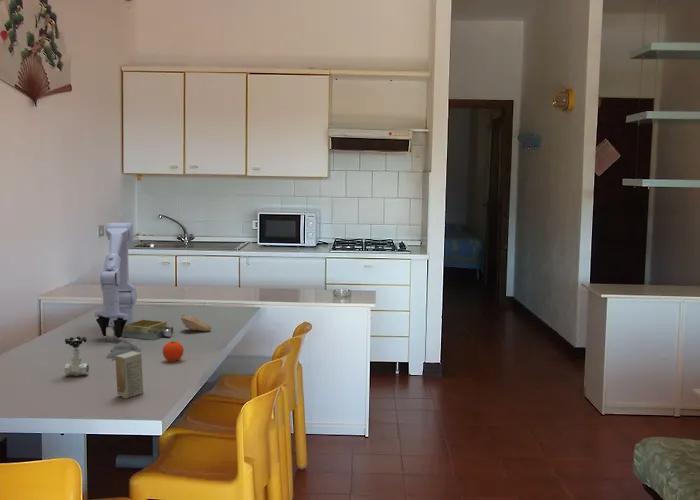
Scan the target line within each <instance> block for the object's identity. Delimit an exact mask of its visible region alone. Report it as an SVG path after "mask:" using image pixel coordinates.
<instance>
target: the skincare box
mask: <svg viewBox="0 0 700 500" xmlns="http://www.w3.org/2000/svg"><path fill="white" fill-rule="evenodd" d="M115 358H116V360H115V371H116V375H115V377H116V391H117V394H116V395H117V396H118V395H119V396H122V397H124V398H123V399H126V398H127V399H130V398H132V396H133V397H135V396H139V395H141V394H144V379H143V378H144V377H143V360H142V352H134V351H131V352H128V353H124V354H121V355H117V356H115ZM119 396H118V397H119ZM122 397H121V398H122ZM129 397H130V398H129Z"/></svg>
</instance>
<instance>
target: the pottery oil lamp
mask: <svg viewBox="0 0 700 500" xmlns="http://www.w3.org/2000/svg"><path fill="white" fill-rule="evenodd" d="M180 320H181V322H182V324H183V325H184V327H185V328H187V329H190V330H192V331H200V332H205V333H206V331H207V332H210V331H211V330H212V326H211V325H209V324H207V323H206V322H204V321H201V320H200V319H199V318H197V317H196V316H194V315H191V314H182V316H181V317H180Z"/></svg>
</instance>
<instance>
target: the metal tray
mask: <svg viewBox="0 0 700 500" xmlns="http://www.w3.org/2000/svg"><path fill="white" fill-rule="evenodd" d="M173 333H174V327H173V326H168V321H165V320H153V319H144V318H141V319H139V320H135V321H133V322H132V323H129V324H125V326H124V328H123V332H122V337H124V338H132V339H141V340H152V341H157V340H159V339H162V338H164V337H165V338H166V337H167V338H171V337H172V336H173V335H174V334H173ZM122 337H121V338H122Z"/></svg>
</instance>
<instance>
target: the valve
mask: <svg viewBox="0 0 700 500" xmlns="http://www.w3.org/2000/svg"><path fill="white" fill-rule="evenodd" d="M83 342H84V343H87V337H85V336H82V337H81V336H76V337H71V336H70V337H69V338H65V339H64V343H65V345H69V347H72V348H74V349H73V350H72V355H74V356H73V357H72V358H71V363H66V364H65V366H64V375H66V376H74V377H80V376H81V375H82V376H87V375H89V372H90V365H89V363H87V362H86V363H82V361H83V360H82V358H83V357H81V356H80V349H78V348H79V347H80V345H82V344H83ZM79 375H80V376H79Z"/></svg>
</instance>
